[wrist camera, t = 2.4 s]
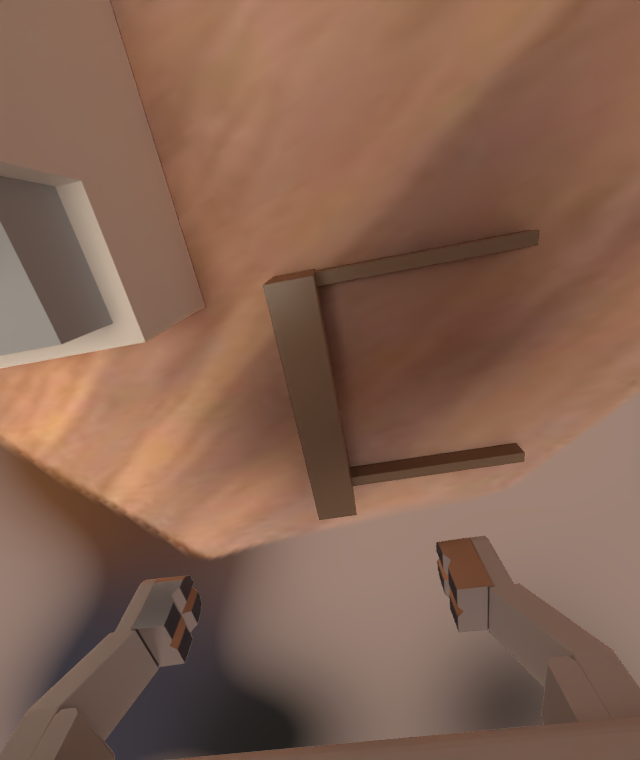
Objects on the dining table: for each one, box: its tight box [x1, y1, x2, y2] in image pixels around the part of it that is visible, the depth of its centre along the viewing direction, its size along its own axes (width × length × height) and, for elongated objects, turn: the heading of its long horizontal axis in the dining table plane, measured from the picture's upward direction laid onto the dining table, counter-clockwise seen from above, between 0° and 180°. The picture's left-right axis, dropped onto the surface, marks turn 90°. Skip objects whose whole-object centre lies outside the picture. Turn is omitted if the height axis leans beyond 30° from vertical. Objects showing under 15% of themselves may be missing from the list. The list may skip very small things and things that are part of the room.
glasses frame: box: [263, 230, 539, 520], centre depth 22 cm, size 16×15×4 cm
